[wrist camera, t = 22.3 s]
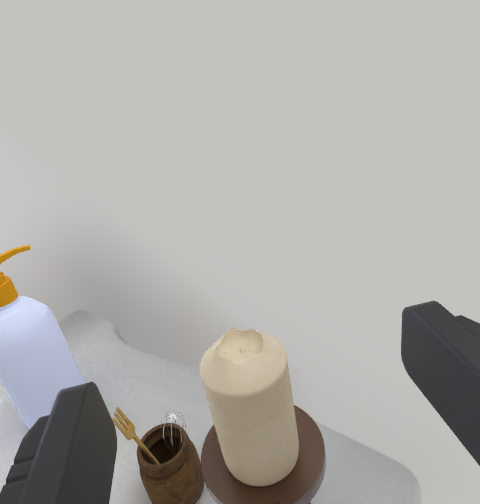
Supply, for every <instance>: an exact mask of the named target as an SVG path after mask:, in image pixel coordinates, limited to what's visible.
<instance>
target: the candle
mask: <svg viewBox="0 0 480 504" xmlns="http://www.w3.org/2000/svg"><path fill="white" fill-rule="evenodd" d="M199 371H200V376H201V380H202V383H203V387H204V390H205V394H206V398H207V401H208V405H209V408H210V412H211V415H212V419H213V422H214V426H215V429H216V433H217V436H218V440H219V443H220V447H221V451H222V454H223V457H224V461H225V463H226V466H227V468H228V469H229V471H230V472H231V474H232V475H233V476H234V477H235V478H236V479H238V480H239V481H241V482H242V483H245V484H247V485H251V486H268V485H272V484H274V483H277V482H279V481H280V480H282V479H283V478H285V477H286V476H287V475H288V474H289V473H290V472H291V471H292V469H293V468H294V466H295V464H296V462H297V459H298V454H299V440H298V432H297V425H296V418H295V411H294V405H293V397H292V390H291V384H290V376H289V369H288V363H287V356H286V352H285V349H284V348H283V346H282V345H281V343H280V342H278V341H277V340H276V339H274V338H273V337H270V336H268V335H266V334H264V333H261V332H258V331H256V330H254V329H249V330H245V331H242V330H238V329H230V330H228V331H227V332H226V333H225V334H224V335H223V336H222V337H221V338H220V339H219V340H218V341H216V342H215V343H214V344H213V345H212V346H211V347H210V348H209V349H208V350H207V352H206V353H205V354H204V356H203V357H202V360H201V362H200V368H199Z"/></svg>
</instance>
